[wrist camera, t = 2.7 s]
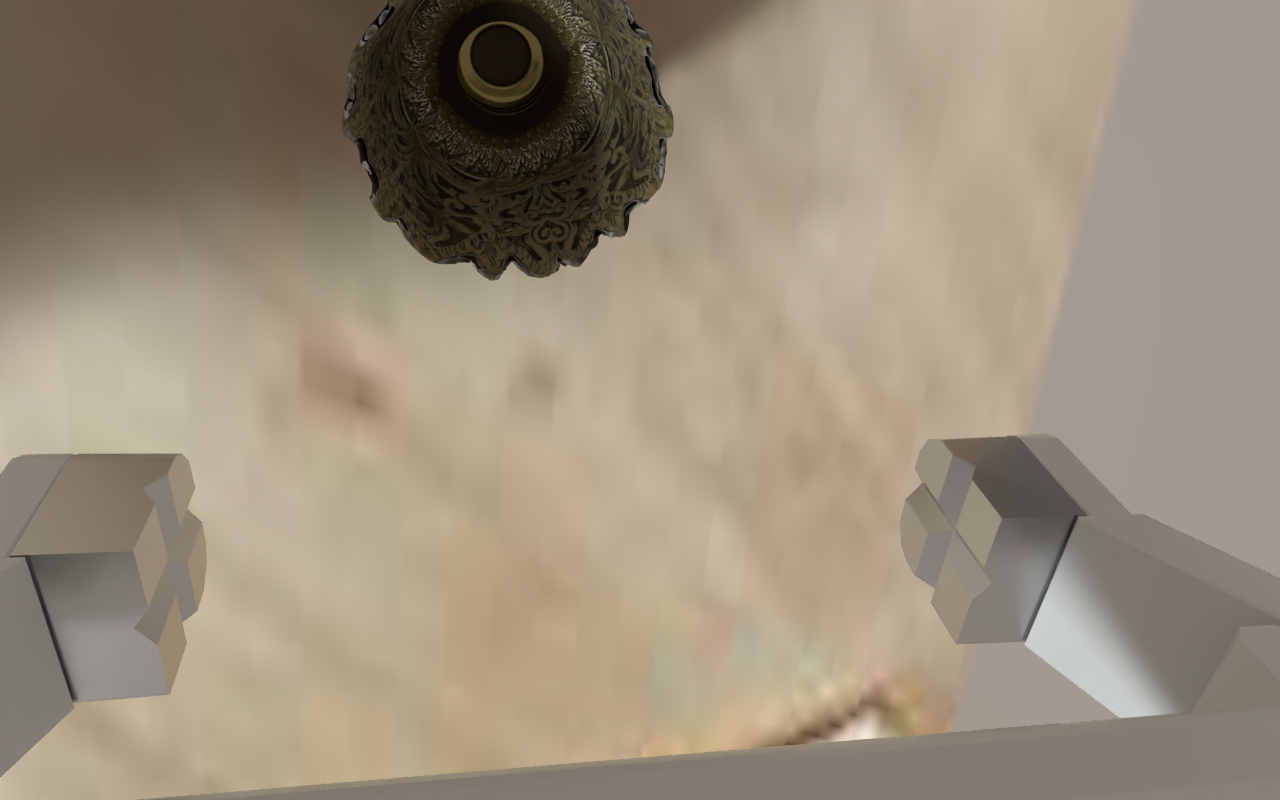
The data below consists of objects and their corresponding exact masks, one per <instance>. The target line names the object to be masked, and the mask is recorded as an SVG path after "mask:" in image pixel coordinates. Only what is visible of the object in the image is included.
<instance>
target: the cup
mask: <svg viewBox="0 0 1280 800" xmlns="http://www.w3.org/2000/svg"><path fill="white" fill-rule="evenodd" d="M493 28H506V29H509V30H512V31H514V32H515V33H517V34H518V35H519V36H520V37H521V38H522V39H523V41H524V42H525V44H526V46H527V49H528V55H529V60H528V65H527V68H526V70H525V72H524V74H523V75H522V76H521V77H520V78H519V79H518V80H516V81H515V82H513V83H510V84H506V85H499V84H494V83H491V82H489V81H487V80H486V79H485V78H483V77H482V76H481V75H480V73H479V72H478V70H477V69H476V66H475V64H474V59H473V51H474V47H475V44H476V42H477V40H478V39H479V37H480V36H481V35H482V34H483V33H485V32H486V31H488V30H490V29H493ZM652 48H653V49H654V45H653V43H652V41H651V39H650V37H649V36H648V34H647V33H646V31H645V30H644V29H643V28H642V27H641V26H640V25H638V24H637V22H636V20H635V18H634V16H633V14H632V12H631V9H630V8H629V7H628V5H627V4H626V3H625V2H624V1H623V0H389V1H388V4H387V6H386V7H385V8H384V10H383V11H382V12H381V13H380V14H379V16H378V17H377V18H376V19H375V20H374V22H373V23H372V24H371V25H370V26H369V28H368V29H367V31H366V32H365V34H364V35H363V37H362V38H361V40H360V41H359V43H358V45H357V46H356V48H355V50H354V52H353V55H352V57H351V60H350V66H349V71H348V99H347V101H346V103H345V107H344V113H343V133H344V136H345V139H346V140H349V141H351V142H353V143H355V144H356V145H357V146H358V149H359V153H360V162H361V164H362V166H363V167H364V168H365V169H366V170H367V172H368V175H369V177H370V179H371V181H372V194H371V196H370V200H371V202H372V204H373V206H374V208H375V209H376V211H377V213H378V214H379V216H380V217H381V218H382V219H383V220H385V221H387V222H396V223H397V224H398V226H399V227H400V229H401V231H402V233H403V234H404V236H405V238H406V239H407V241H408V242H409V243H410V244H411V245H412V246H413V247H414V248H415V249H416V250H417V251H418V252H419V253H420V254H421V255H423V256H424V257H425V258H427V259H428V260H429V261H431V262H434V263H438V264H456V263H461V262H467V263H468V262H472V263H474V264H475V266H476V267H475V266H474V265H473V266H474V267H475V268H476V269H477V271H478V272H479V273H480V274H481V275H482V276H483V277H485V278H488V279H489V280H498V279H499V278H500V276H501V274H502V273H503V271H505V270H506V267H507V266H508V265H509V264H510V262H513V263H514V264H515V265H516V266H517V267H518V268H519V269H520V270H521V271H522V272H524V273H525V274H526V275H528V276H531V277H537V278H543V277H548V276H550V275H551V274H553V273H555V272H557V271H558V270H559V267H560V264H562V265H563V266H566V265H571V266H573V267H579V266H580V265H581V264H582V263H583V262H584V260H585V259H586V258H587V256H588V254H589V253H590V251H591V249H593V248H594V247H596V246H597V244H598V239H599V235H600V234H603V235H607V236H609V237H610V238H612V237H622V236H625V234H626V233H627V230H628V225H629V215H630V212H631V211H632V210H633V209H634V208H635V207H637V206H638V205H640V204H646V202H647V201H648V200H649V199H650V198H651V197H652V196H653V195H654V194H655V193H656V191H657V190H658V189H659V188H660V187H661V184H662V181H663V178H664V172H665V158H666V154H667V139H668V138H670V137H672V133H673V115H672V111H671V108H670V106H669V105H667V104H666V102H665V100H664V99H663V97H662V95H661V91H660V85H659V72H658V69H657V67H656V65H655V63H654V62H653V59H652V55H651V53H652Z"/></svg>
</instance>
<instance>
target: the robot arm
mask: <svg viewBox="0 0 1280 800" xmlns="http://www.w3.org/2000/svg"><path fill="white" fill-rule="evenodd" d="M915 470H916V472H917V474H918V475H919V477H920V479H921V481H922V484H921V485H920V486H919V487H918V488H917V489H916V490H915V491H914V492H912V493H911V494H910V495H909V496H908V497H907V498H906V500H905V504H904V508H903V512H902V516H901V520H900V528H901V545H902V548H903V551H904V555H905V558H906V561H907V563H908V564H909V566H910V568H911V570H912V571H913V573H914V575H915V576H917V577H918V578H920V579H921V580H923V581H924V582H926V583H928V584H929V585H931V586H932V587H934V588H935V591H934V594H933V597H932V600H931V603H932V605H933V607H934V608H935V610H936V612H937V613H938V615H939V617H940V618H941V620H942V622H943V623H944V625H945V627H946V628H947V630H948V631H949V633H950V635H951V636H952V638H953V640H954V641H955V643H956V644H975V643H1001V642H1026V643H1025V646H1027V647H1028V648H1029V649H1030V650H1032V651H1033V652H1034V653H1036V654H1037V655H1038V656H1040V657H1041V658H1042V659H1043V660H1045V661H1046V662H1047V663H1049V664H1050V665H1051V666H1053V667H1054V668H1055V669H1057V670H1058V671H1059V672H1060V673H1062V674H1063V675H1065V676H1066V677H1067V678H1068V679H1070V680H1071V681H1072V682H1074V683H1075V684H1076V685H1077V686H1079V687H1080V688H1081V689H1083V690H1084V691H1086V692H1087V693H1088V694H1089V695H1091V696H1092V697H1093V698H1094V699H1096V700H1097V701H1098V702H1100V703H1101V704H1102V705H1104V706H1105V707H1106V708H1108V709H1109V710H1110V711H1111V712H1113V713H1114V714H1116V715H1117V716H1118V717H1119V718H1117V719H1105V720H1093V721H1081V722H1069V723H1057V724H1045V725H1034V726H1022V727H1009V728H996V729H984V730H972V731H961V732H948V733H936V734H924V735H912V736H900V737H888V738H876V739H864V740H851V741H839V742H827V743H815V744H802V745H790V746H778V747H765V748H753V749H741V750H729V751H716V752H704V753H692V754H679V755H667V756H655V757H643V758H630V759H618V760H606V761H594V762H581V763H569V764H557V765H545V766H533V767H521V768H509V769H497V770H485V771H474V772H462V773H450V774H438V775H426V776H414V777H402V778H390V779H379V780H367V781H355V782H343V783H331V784H319V785H307V786H296V787H284V788H272V789H260V790H248V791H236V792H224V793H213V794H201V795H189V796H176V797H164V798H151V799H138V800H1280V578H1278V577H1276V576H1274V575H1272V574H1270V573H1268V572H1265V571H1263V570H1261V569H1259V568H1257V567H1255V566H1253V565H1250V564H1248V563H1246V562H1244V561H1242V560H1240V559H1238V558H1236V557H1234V556H1231V555H1229V554H1227V553H1225V552H1223V551H1221V550H1219V549H1217V548H1214V547H1212V546H1210V545H1208V544H1206V543H1204V542H1201V541H1200V540H1197V539H1195V538H1193V537H1191V536H1189V535H1187V534H1185V533H1183V532H1180V531H1178V530H1176V529H1174V528H1172V527H1170V526H1168V525H1165V524H1163V523H1161V522H1159V521H1157V520H1155V519H1152V518H1150V517H1148V516H1146V515H1144V514H1138V515H1137V514H1136V515H1132V514H1131V513H1130V512H1129V511H1128V510H1127V509H1126V508H1125V507H1124V506H1123V505H1122V504H1121V503H1120V502H1119V501H1118V500H1117V499H1116V498H1115V497H1114V496H1113V495H1112V494H1111V493H1110V492H1109V491H1108V489H1107V488H1106V487H1105V486H1104V485H1103V484H1102V483H1101V482H1100V481H1099V480H1098V479H1097V478H1096V477H1095V476H1094V475H1093V474H1092V473H1091V472H1090V471H1089V470H1088V469H1087V468H1086V467H1085V466H1084V465H1083V463H1082V462H1081V461H1080V460H1078V458H1077V457H1076V456H1075V455H1074V454H1073V453H1072V452H1071V451H1070V450H1069V449H1068V448H1067V447H1066V446H1065V445H1064V444H1063V443H1062V442H1061V441H1060V440H1059V439H1058V438H1056V437H1053V436H1051V435H1049V434H1029V435H1011V436H1007V437H982V438H955V439H928V441H927V442H926V443H925V445H924V446H923V448H922V449H921V450H920V453H919V456H918V460H917V463H916V466H915ZM194 489H195V485H194V481H193V477H192V472H191V468H190V464H189V461H188V460H187V459H186V458H185V457H184V455H183V454H77V455H74V454H33V455H21V456H19V457H16V458H13V459H12V460H11V461H10V462H9V463H8V464H7V466H6V467H5V469H4V470H3V471H2V473H1V474H0V777H1V776H2V775H3V774H4V773H5V772H6V771H7V770H9V769H10V768H11V767H12V766H13V765H14V764H15V763H16V762H17V761H18V760H19V759H20V758H21V757H22V756H23V755H25V754H26V753H27V752H28V751H29V750H30V749H31V748H32V747H33V746H34V745H35V744H36V743H37V742H38V741H39V740H41V739H42V738H43V737H44V736H45V735H46V734H47V733H48V732H49V731H50V730H51V729H52V728H53V727H54V726H55V725H57V724H58V723H59V722H60V721H61V720H62V719H63V718H64V717H65V716H66V715H67V714H68V713H69V712H70V711H71V710H73V709H74V705H73V703H81V702H92V701H103V700H115V699H126V698H137V697H148V696H159V695H170V692H171V689H172V686H173V683H174V680H175V677H176V674H177V671H178V668H179V665H180V662H181V659H182V656H183V653H184V650H185V647H186V644H187V642H186V638H185V633H184V628H183V624H182V622H184V621H185V620H186V619H187V618H189V617H190V616H191V615H192V614H194V613H195V612H196V611H197V610H198V607H199V603H200V600H201V597H202V593H203V590H204V582H205V573H206V564H207V561H206V543H205V536H204V531H203V525H202V522H201V521H200V520H199V519H198V518H197V517H196V516H194V515H193V514H192V513H191V512H190V511H189V510H187V508H188V505H189V502H190V500H191V497H192V494H193V492H194Z"/></svg>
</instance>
